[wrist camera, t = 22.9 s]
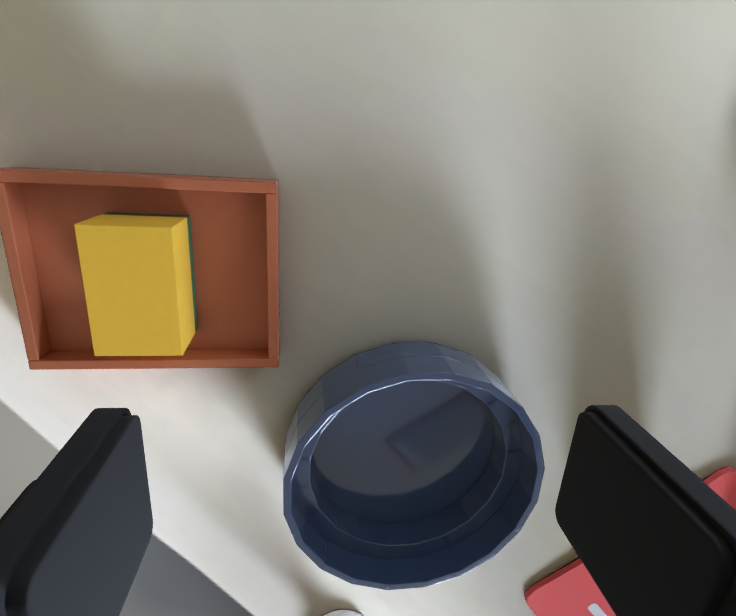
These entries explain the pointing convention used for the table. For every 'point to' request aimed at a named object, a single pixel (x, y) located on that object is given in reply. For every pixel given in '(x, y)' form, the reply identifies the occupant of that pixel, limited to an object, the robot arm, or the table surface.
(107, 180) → the sponge dish
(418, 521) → the bowl
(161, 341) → the sponge
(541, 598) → the desk lamp
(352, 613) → the chess piece
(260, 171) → the table surface
